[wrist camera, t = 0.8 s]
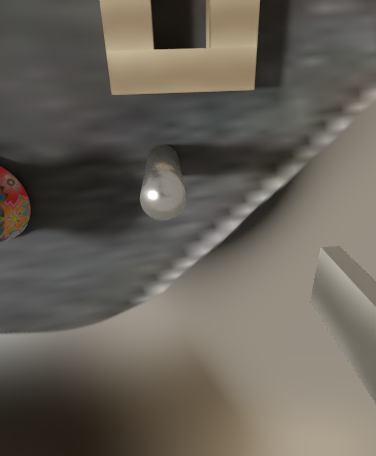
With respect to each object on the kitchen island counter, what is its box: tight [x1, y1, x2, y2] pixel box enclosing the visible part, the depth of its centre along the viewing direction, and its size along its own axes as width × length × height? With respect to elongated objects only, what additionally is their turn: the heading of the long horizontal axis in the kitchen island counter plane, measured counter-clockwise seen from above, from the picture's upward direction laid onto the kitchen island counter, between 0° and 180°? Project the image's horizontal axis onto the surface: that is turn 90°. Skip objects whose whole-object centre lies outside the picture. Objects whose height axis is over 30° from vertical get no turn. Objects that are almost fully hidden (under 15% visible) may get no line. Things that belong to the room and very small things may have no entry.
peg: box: [140, 145, 186, 220], centre depth 24 cm, size 3×3×10 cm
